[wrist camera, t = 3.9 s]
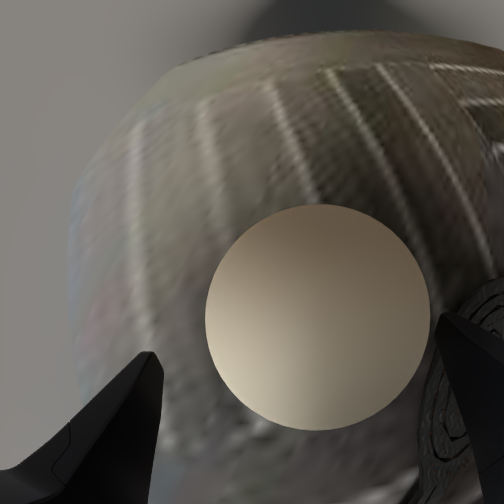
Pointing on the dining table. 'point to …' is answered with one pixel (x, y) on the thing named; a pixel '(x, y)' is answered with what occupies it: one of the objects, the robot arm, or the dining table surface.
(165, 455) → the dining table surface
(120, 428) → the robot arm
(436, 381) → the hairbrush
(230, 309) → the cream ridged cylinder
